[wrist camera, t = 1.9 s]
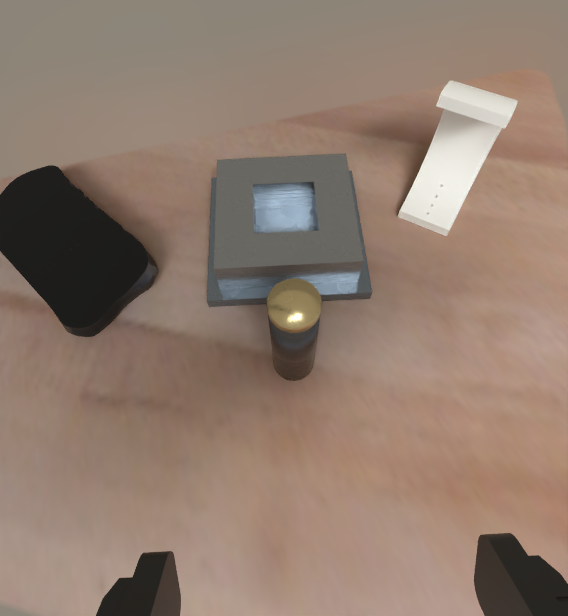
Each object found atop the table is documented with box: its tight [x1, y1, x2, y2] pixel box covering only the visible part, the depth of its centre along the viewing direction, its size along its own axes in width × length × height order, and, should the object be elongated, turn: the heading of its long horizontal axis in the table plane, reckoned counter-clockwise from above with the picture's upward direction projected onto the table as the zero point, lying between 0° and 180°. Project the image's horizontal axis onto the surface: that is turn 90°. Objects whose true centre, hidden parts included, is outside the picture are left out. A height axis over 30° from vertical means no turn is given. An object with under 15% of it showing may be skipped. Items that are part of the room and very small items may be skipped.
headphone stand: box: [398, 80, 518, 236], centre depth 32 cm, size 5×6×12 cm
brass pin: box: [267, 279, 322, 381], centre depth 27 cm, size 3×3×10 cm
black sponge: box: [0, 166, 158, 337], centre depth 34 cm, size 16×8×4 cm, turn 46°
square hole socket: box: [207, 154, 372, 307], centre depth 35 cm, size 13×13×4 cm
